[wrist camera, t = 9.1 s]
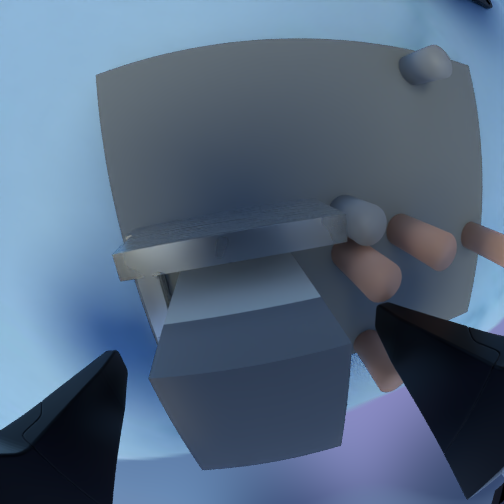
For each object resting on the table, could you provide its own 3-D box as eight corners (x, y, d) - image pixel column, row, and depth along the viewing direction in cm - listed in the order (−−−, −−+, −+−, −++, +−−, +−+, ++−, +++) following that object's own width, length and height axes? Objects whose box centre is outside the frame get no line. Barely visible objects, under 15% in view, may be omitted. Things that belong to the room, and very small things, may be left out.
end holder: (312, 197, 10) (346, 213, 7) (321, 359, 13) (342, 403, 10) (132, 229, 10) (102, 256, 7) (183, 382, 12) (178, 431, 10)
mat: (461, 67, 9) (468, 65, 9) (461, 307, 14) (467, 311, 13) (101, 78, 8) (96, 75, 8) (176, 378, 13) (175, 386, 12)
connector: (295, 333, 12) (341, 445, 6) (205, 350, 12) (202, 469, 6) (287, 247, 11) (352, 342, 5) (181, 266, 11) (148, 378, 5)
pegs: (465, 70, 9) (507, 63, 6) (463, 315, 13) (493, 340, 11) (303, 46, 8) (331, 13, 6) (332, 361, 13) (353, 404, 10)
